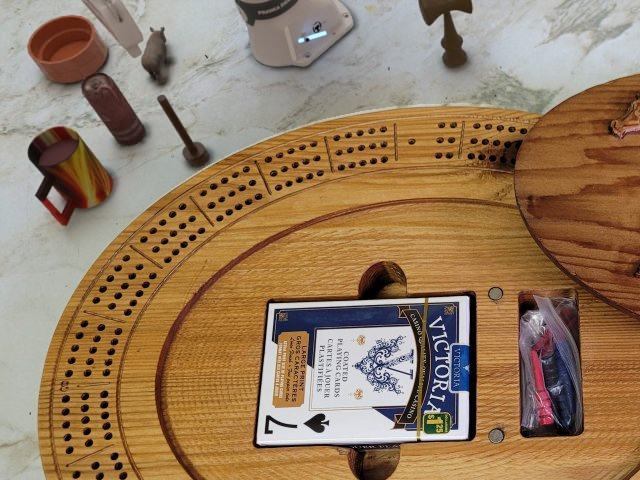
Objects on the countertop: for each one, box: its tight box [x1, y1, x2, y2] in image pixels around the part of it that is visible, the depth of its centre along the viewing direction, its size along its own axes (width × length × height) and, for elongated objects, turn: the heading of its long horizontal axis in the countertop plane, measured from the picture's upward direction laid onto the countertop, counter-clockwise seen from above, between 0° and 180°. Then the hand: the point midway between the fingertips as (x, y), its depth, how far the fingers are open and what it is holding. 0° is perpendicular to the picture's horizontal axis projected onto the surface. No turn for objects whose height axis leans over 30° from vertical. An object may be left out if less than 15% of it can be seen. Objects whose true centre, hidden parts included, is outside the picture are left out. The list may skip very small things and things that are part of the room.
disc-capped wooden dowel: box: [156, 94, 210, 168], centre depth 155 cm, size 4×4×16 cm
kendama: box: [417, 0, 474, 68], centre depth 159 cm, size 6×10×20 cm, turn 110°
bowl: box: [26, 14, 109, 84], centre depth 174 cm, size 14×14×6 cm
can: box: [80, 71, 146, 147], centre depth 160 cm, size 6×6×14 cm
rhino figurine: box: [140, 26, 172, 85], centre depth 172 cm, size 4×14×6 cm, turn 1°
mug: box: [27, 125, 114, 227], centre depth 154 cm, size 10×14×12 cm
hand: (123, 39), depth 137 cm, fingers open, 8 cm apart
